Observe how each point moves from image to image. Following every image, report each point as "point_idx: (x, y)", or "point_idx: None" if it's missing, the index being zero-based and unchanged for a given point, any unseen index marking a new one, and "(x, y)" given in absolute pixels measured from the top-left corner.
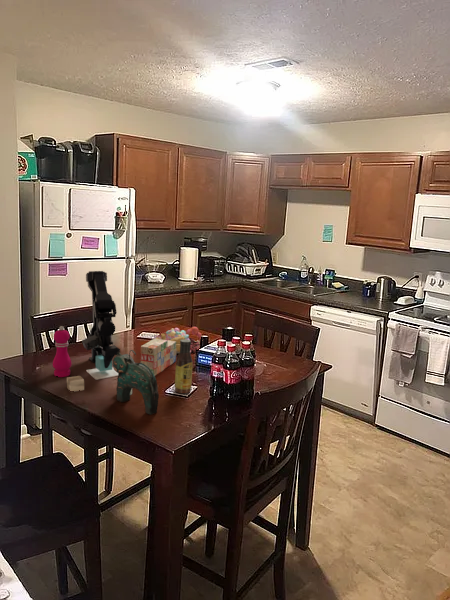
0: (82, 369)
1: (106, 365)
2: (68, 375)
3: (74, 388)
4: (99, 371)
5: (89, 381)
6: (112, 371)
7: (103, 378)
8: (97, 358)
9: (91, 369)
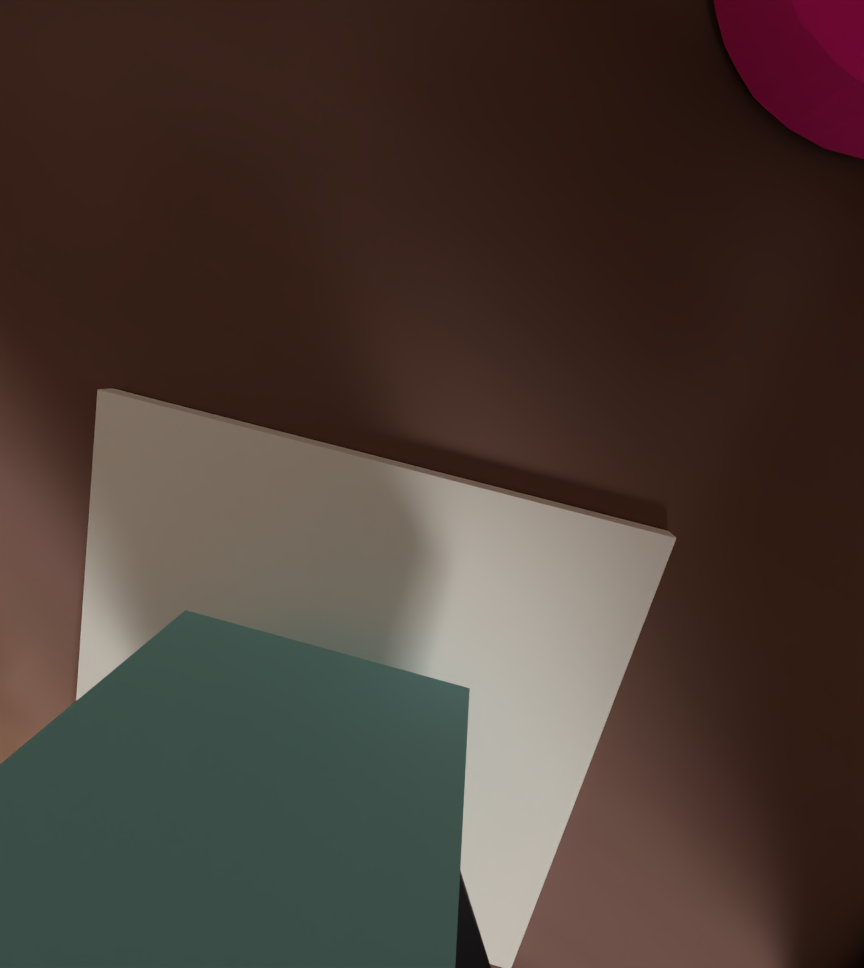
0: (810, 536)
1: None
2: (716, 4)
3: None
4: None
5: (105, 234)
6: None
7: (101, 534)
8: (217, 957)
9: (618, 641)
